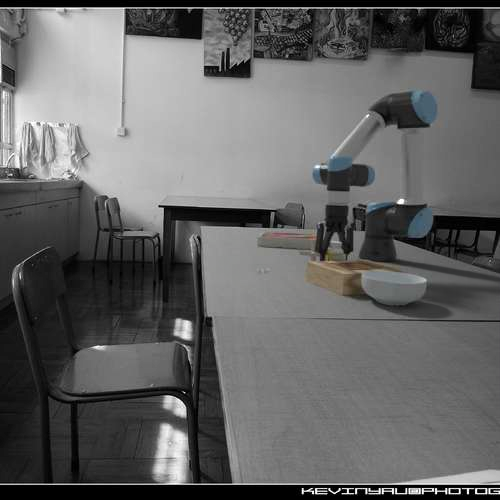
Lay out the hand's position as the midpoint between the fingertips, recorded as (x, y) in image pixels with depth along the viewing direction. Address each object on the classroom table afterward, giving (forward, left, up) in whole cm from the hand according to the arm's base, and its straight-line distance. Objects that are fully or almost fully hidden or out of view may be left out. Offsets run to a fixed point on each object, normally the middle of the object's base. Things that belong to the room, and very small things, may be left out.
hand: (332, 273), depth 172 cm
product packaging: (-20, -68, -1) cm, 71 cm away
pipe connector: (0, -13, -1) cm, 13 cm away
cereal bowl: (+5, +37, -1) cm, 37 cm away
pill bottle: (0, 0, -1) cm, 1 cm away
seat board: (+3, +17, 0) cm, 17 cm away
